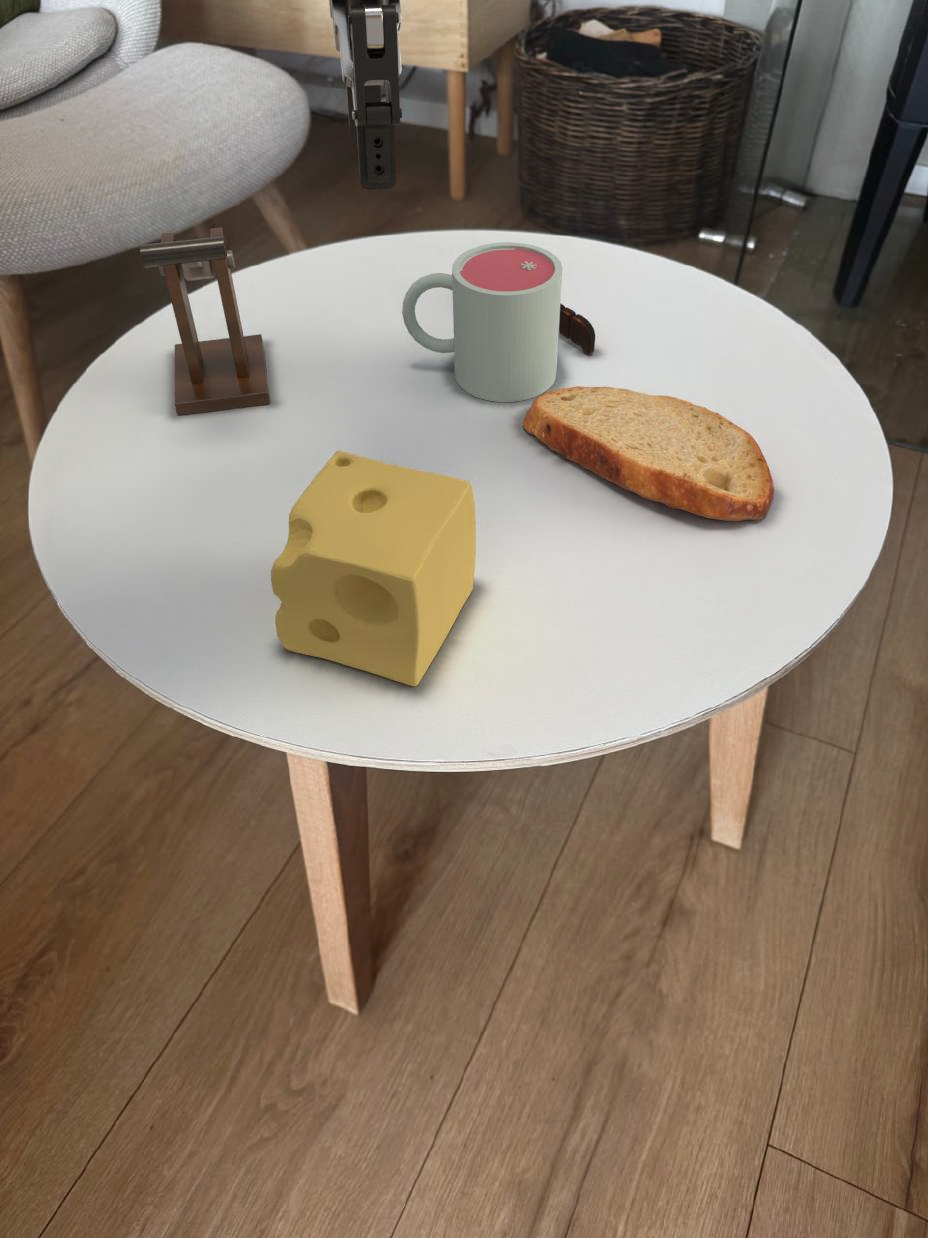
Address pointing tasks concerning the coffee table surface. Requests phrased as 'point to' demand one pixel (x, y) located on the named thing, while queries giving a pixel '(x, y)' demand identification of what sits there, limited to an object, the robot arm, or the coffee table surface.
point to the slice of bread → (657, 449)
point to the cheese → (375, 566)
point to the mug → (498, 319)
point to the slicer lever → (186, 256)
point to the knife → (577, 329)
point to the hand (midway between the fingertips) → (371, 159)
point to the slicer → (214, 349)
